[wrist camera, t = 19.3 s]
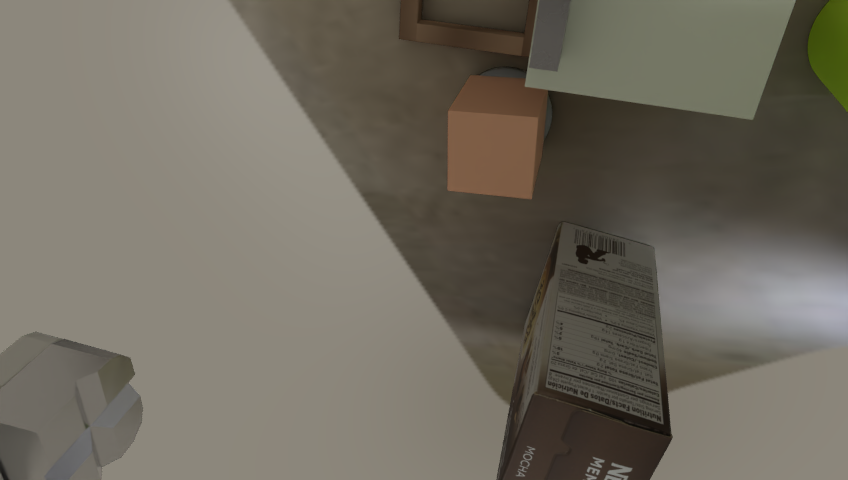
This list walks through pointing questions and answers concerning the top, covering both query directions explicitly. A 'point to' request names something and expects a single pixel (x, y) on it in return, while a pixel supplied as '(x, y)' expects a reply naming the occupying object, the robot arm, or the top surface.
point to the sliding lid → (659, 51)
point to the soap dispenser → (831, 48)
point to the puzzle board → (465, 32)
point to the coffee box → (590, 366)
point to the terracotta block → (496, 137)
